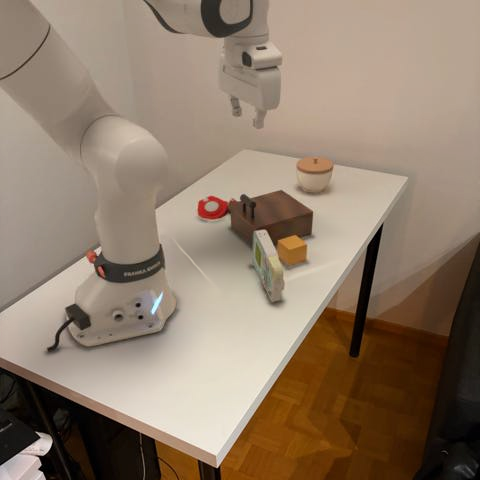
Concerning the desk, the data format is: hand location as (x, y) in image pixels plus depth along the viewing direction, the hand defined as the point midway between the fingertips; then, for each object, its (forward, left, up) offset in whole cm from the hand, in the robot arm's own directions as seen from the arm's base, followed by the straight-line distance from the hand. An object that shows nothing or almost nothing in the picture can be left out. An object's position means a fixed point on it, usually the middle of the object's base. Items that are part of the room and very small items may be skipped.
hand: (247, 121), depth 105 cm
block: (+4, -14, -29) cm, 33 cm away
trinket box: (+32, +16, -29) cm, 46 cm away
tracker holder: (0, +16, -29) cm, 33 cm away
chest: (+7, 0, -29) cm, 30 cm away
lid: (+6, 0, -23) cm, 24 cm away
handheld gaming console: (-6, -19, -29) cm, 36 cm away
